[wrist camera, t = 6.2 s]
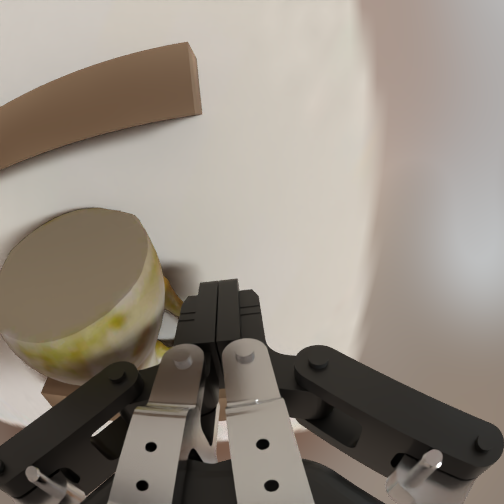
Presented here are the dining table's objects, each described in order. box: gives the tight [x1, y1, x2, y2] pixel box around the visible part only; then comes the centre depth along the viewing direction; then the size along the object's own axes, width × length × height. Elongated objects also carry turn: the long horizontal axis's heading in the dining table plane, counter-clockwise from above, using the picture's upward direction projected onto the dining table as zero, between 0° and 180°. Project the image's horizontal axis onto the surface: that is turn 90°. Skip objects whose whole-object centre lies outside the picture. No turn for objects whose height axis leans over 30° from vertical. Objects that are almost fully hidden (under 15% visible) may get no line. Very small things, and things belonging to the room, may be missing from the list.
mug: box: [0, 208, 184, 386], centre depth 11 cm, size 8×10×10 cm
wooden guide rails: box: [0, 42, 227, 421], centre depth 12 cm, size 18×13×3 cm
